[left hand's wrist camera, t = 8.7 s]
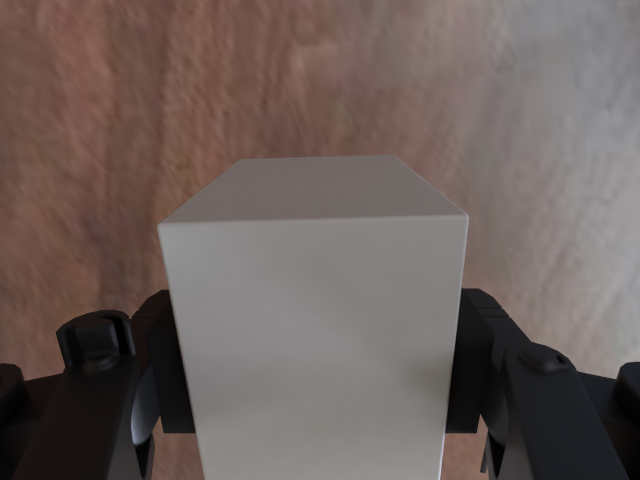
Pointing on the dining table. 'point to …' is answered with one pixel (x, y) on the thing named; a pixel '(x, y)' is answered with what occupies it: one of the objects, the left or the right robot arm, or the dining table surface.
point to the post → (317, 317)
